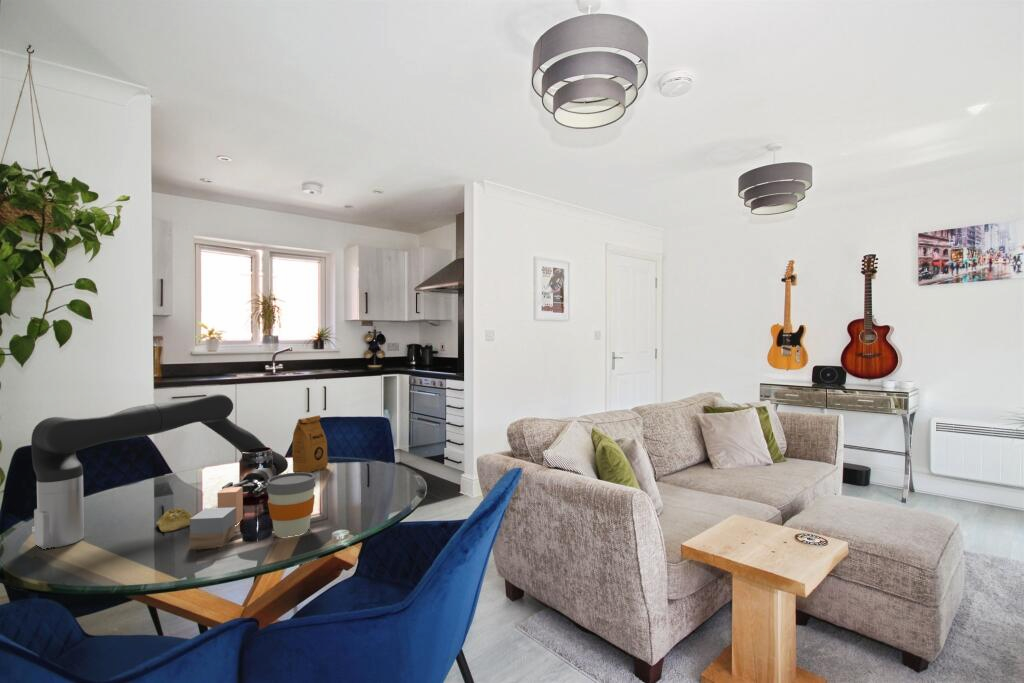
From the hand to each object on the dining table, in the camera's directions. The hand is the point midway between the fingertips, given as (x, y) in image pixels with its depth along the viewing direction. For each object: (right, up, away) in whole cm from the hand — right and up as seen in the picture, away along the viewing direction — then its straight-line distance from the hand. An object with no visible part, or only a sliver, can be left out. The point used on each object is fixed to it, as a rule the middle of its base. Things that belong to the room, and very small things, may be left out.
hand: (240, 494), depth 156 cm
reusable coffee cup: (+22, -6, -15) cm, 27 cm away
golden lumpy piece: (-14, -7, -9) cm, 18 cm away
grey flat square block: (+4, -2, -21) cm, 22 cm away
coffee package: (+2, -5, +49) cm, 50 cm away
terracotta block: (+2, -6, -8) cm, 10 cm away
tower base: (+4, -6, -21) cm, 23 cm away
